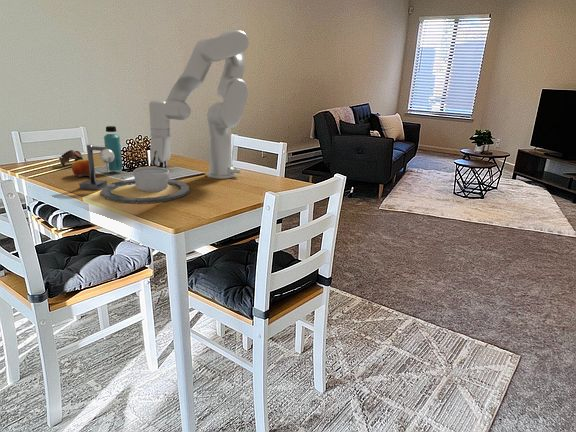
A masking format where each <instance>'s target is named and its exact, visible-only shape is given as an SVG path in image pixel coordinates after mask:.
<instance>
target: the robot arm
mask: <svg viewBox="0 0 576 432" xmlns="http://www.w3.org/2000/svg"><path fill="white" fill-rule="evenodd" d="M249 44H250V41H249V37H248V34H246V32H244V31H242V30H240V29H239V30H238V29H236V30H228V31H224V32H222V33H220V35H219V36H218V35H217V36H215V37H210V38H203V39H200V40H199V41H197V43H195V45H194V48H193V49H192V52H191V53H190V57H189V59H188V61H187V63H186V66H185V67H184V70H183V72H182V73H181V75H179V77H178V78H177V80H176V81H175V83H174V84H173V86H172V87H171V90H170V91H169V93H168V96H167V98H166V100H158V99H157V100H156V99H155V100H151V101H150V102H149V103H148V106H149V107H148V110H149V126H150V127H149V128H150V129H149V130H150V161H151V162H154V165H155V167H160V168H165V169H168V162H169V159H171V157H172V155H171V153H172V152H171V140H170V138H171V120H175V121H184V120H187V119H188V118H190V116H191V114H192V110H191V107H190V105H189V104H188V103H187V102H186V101H187V100H188V98H189V96H190V95H191V93H192V92H193V91H195V90H196V89H197V88H199V87H200V86H201V85H202V84H203V83H204V82H205V79H206V78H207V74H208V73H209V70H210V68H211V66H212V64H213V63H214V62H215V63H217V62H221V61H223V60H224V67H223V69H222V72H221V76H220V78H219V81H218V86H217V89H216V90H217V91H216V92H217V95H218V97H219V98H221V99H222V102H214V103H212V104H211V105H210V106H209V107H208V108H207V111H206V119H207V125H208V135H209V136H208V138H209V139H208V140H209V141H208V142H209V143H208V146H209V147H208V148H209V150H208V151H209V157H208V158H209V159H208V160H209V161H208V163H209V171H207V172H206V173H205V176H206V177H208V178H209V179H210V178H211V179H217V180H218V179H219V180H223V179H232V178H234V177H235V176H236V175H235V174H239V175H240V174H241V173H242V172H241V171H242V170H241V169H240V168H238V167H237V168H235V167H234V164H232V128H235V127H237V125H238V124H239V123H240V120H241V119H242V116H243V113H244V110H245V107H246V104H247V100H248V97H249V87H248V84H247V83H246V81H244V80H243V77H244V73H245V68H246V60H245V56H244V52H246V51H247V50H248V47H249Z"/></svg>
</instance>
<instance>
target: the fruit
mask: <svg viewBox="0 0 576 432" xmlns="http://www.w3.org/2000/svg"><path fill="white" fill-rule="evenodd" d="M71 170H72V173H73V174H74V176H76V177H79V178H82V177H86V176H87V177H90V171H89V162H88V160H87V159H83V160H78V161H74V162H73V163H72V164H71Z"/></svg>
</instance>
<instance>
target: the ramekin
mask: <svg viewBox="0 0 576 432" xmlns="http://www.w3.org/2000/svg"><path fill="white" fill-rule="evenodd" d="M132 174H133V177H134V178H133V179H135V186H136V189H138V190H139V191H142V192H160V191H163V189H164V190H165V189H166V188H167V187H168V185H169V184H168V179H169V175H170V169H168V168H167V169H165V168H160V167H157V166H145V167H138V168H136V169H133V171H132Z"/></svg>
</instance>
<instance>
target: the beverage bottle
mask: <svg viewBox="0 0 576 432" xmlns="http://www.w3.org/2000/svg"><path fill="white" fill-rule="evenodd" d="M105 132H107V133H106V134H105V135H104V137H103V139H104V147H107V149H110V150H112V151H113V153H114V155H115V158H114V160H113V161H112V162H109V172H110V171H111V172H117V171H119V172H120V171H122V170H123V157H122V149H121V148H122V147H121V139H120V138H121V137H120V136H119V135H118V134H116V133H115V132H117V128H116V126H115V125H110V126H109V125H107V126H105ZM105 164H106V168H107V163H105Z"/></svg>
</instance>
